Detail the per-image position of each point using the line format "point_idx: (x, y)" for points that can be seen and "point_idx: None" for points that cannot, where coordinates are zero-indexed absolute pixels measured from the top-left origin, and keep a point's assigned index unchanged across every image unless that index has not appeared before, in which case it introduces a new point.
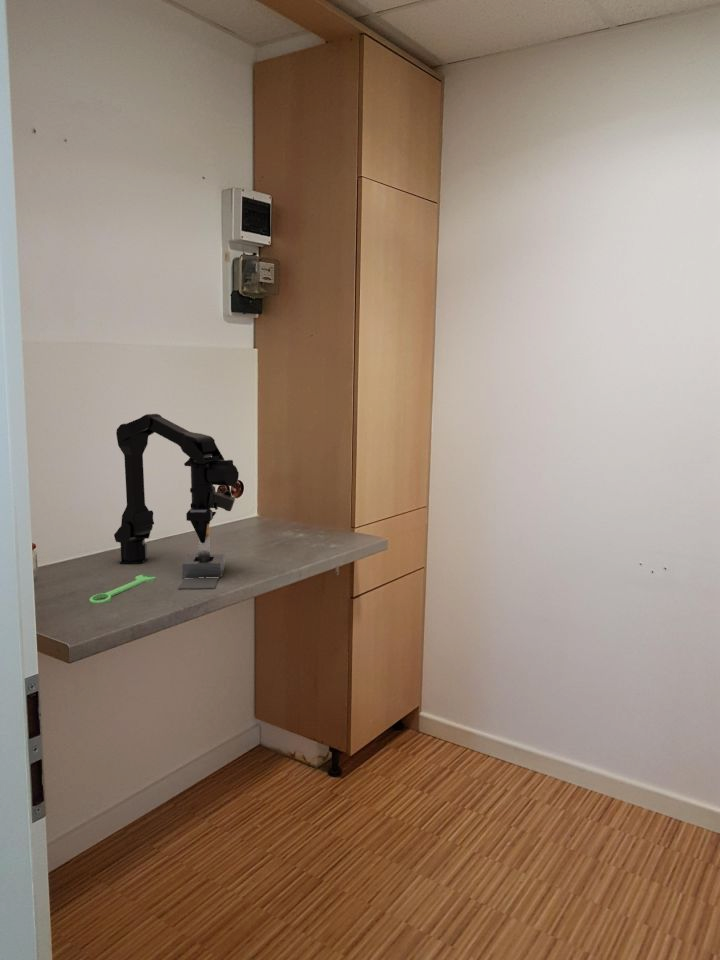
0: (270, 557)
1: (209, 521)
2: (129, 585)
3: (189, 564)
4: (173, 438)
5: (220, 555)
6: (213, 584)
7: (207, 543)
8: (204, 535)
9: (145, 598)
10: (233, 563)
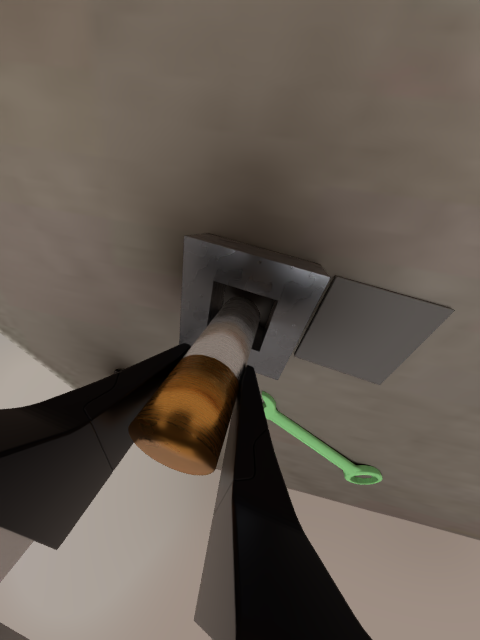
0: None
1: (335, 590)
2: (307, 437)
3: (284, 364)
4: None
5: (199, 254)
6: (410, 305)
7: (244, 346)
8: (260, 402)
9: (401, 437)
10: (148, 191)
